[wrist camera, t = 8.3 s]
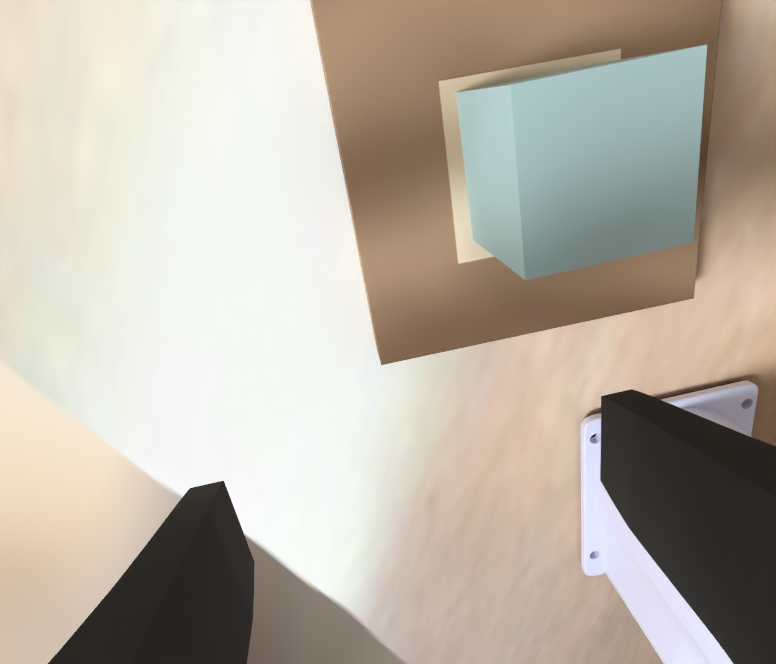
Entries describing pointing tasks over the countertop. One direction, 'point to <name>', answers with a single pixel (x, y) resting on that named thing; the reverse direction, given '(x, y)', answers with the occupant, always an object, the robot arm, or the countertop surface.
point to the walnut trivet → (446, 164)
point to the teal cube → (585, 161)
